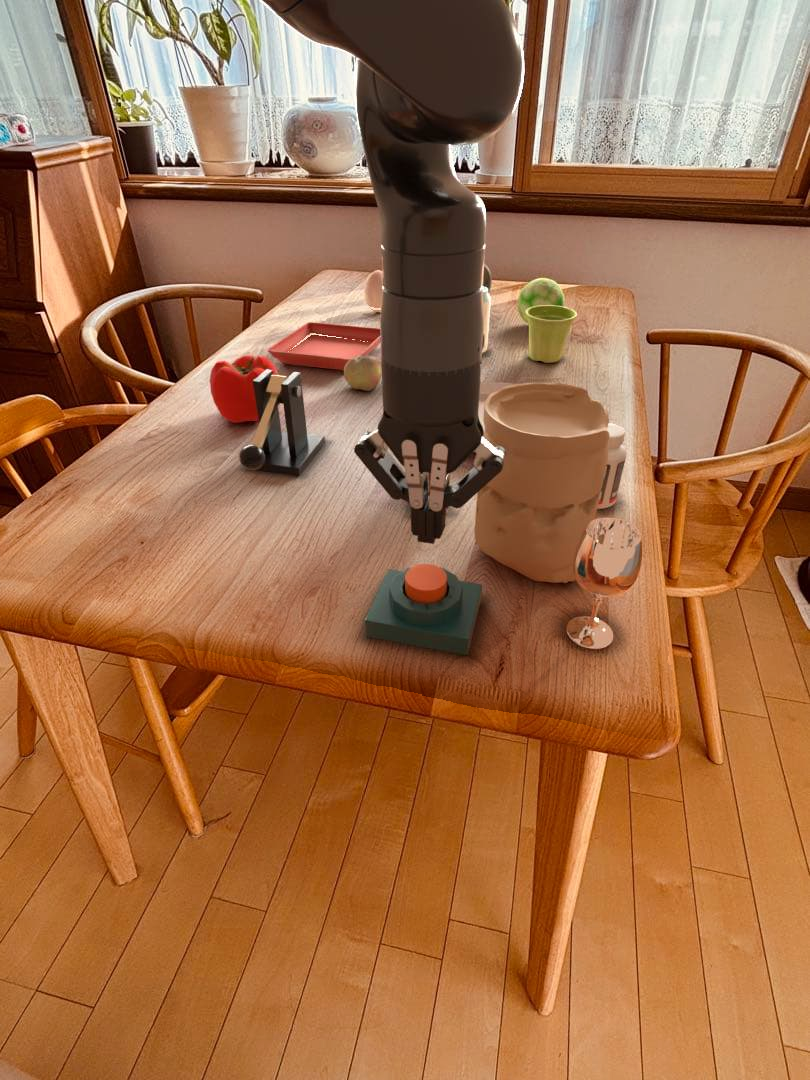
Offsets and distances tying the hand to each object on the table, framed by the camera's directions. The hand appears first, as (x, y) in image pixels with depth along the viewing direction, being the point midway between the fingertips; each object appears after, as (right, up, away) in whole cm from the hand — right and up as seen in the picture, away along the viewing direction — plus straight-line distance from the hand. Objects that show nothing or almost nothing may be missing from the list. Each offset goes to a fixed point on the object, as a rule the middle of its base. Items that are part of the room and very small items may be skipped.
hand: (428, 537), depth 56 cm
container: (+12, -2, +14) cm, 19 cm away
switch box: (0, -8, +6) cm, 10 cm away
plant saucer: (-17, +36, +66) cm, 77 cm away
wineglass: (+16, -9, +4) cm, 19 cm away
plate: (+12, +18, +41) cm, 46 cm away
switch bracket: (-19, +12, +33) cm, 40 cm away
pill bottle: (+22, +5, +24) cm, 33 cm away
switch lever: (-20, +14, +27) cm, 36 cm away
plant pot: (+25, +35, +65) cm, 78 cm away
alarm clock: (+12, +52, +88) cm, 104 cm away
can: (+11, +37, +68) cm, 78 cm away
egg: (-8, +53, +89) cm, 104 cm away
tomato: (-27, +20, +44) cm, 56 cm away
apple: (-9, +26, +53) cm, 60 cm away
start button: (0, -5, +4) cm, 6 cm away
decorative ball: (+27, +46, +80) cm, 97 cm away
